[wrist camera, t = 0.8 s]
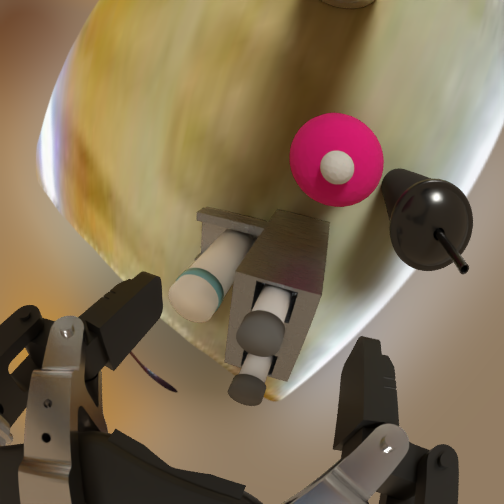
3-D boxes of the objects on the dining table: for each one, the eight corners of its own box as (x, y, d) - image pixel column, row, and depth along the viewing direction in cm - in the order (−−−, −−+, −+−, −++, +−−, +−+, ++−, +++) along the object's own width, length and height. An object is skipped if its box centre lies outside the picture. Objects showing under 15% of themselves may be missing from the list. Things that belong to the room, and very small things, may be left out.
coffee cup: (221, 222, 37) (166, 274, 25) (257, 231, 36) (215, 290, 24) (218, 255, 40) (169, 313, 28) (252, 264, 39) (212, 329, 27)
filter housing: (207, 193, 37) (134, 240, 23) (329, 222, 34) (321, 295, 20) (203, 265, 43) (146, 330, 29) (307, 295, 40) (287, 381, 26)
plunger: (263, 269, 23) (238, 318, 17) (300, 279, 22) (285, 332, 17) (258, 298, 25) (234, 348, 19) (291, 308, 24) (275, 361, 18)
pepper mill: (366, 118, 26) (413, 108, 9) (363, 176, 30) (395, 247, 13) (306, 112, 28) (264, 93, 11) (304, 169, 32) (263, 230, 15)
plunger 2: (251, 333, 27) (229, 382, 21) (281, 342, 26) (264, 393, 21) (247, 352, 29) (226, 398, 23) (275, 361, 28) (258, 409, 22)
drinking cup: (367, 157, 29) (411, 205, 12) (425, 156, 26) (519, 206, 9) (371, 217, 32) (400, 324, 15) (426, 216, 29) (494, 314, 12)
